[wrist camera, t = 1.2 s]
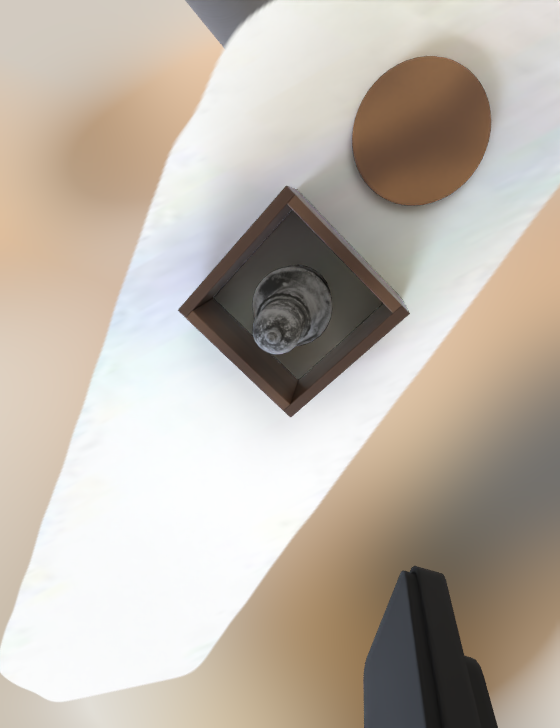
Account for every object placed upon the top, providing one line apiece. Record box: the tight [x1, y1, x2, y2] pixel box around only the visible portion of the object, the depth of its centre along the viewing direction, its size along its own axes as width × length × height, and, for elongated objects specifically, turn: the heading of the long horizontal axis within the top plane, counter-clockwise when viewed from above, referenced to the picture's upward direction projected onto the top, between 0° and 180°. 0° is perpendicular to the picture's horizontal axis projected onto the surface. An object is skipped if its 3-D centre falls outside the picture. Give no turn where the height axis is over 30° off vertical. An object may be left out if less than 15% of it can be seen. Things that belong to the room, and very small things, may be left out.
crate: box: [178, 186, 410, 417], centre depth 33 cm, size 12×12×5 cm
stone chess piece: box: [252, 265, 332, 354], centre depth 29 cm, size 6×6×12 cm
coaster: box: [352, 56, 491, 206], centre depth 29 cm, size 9×9×1 cm
